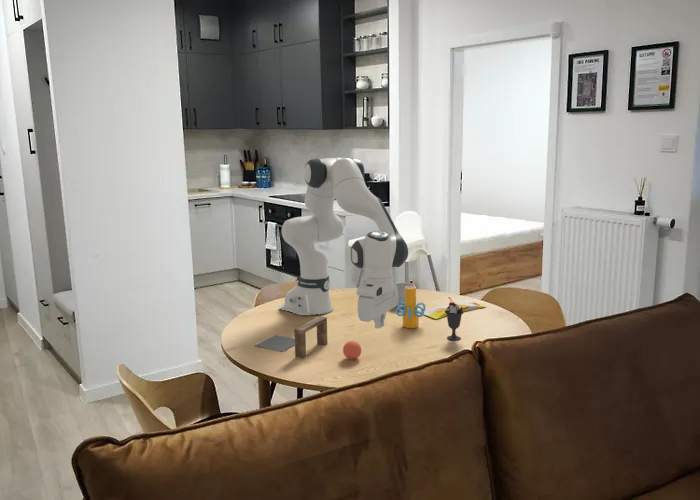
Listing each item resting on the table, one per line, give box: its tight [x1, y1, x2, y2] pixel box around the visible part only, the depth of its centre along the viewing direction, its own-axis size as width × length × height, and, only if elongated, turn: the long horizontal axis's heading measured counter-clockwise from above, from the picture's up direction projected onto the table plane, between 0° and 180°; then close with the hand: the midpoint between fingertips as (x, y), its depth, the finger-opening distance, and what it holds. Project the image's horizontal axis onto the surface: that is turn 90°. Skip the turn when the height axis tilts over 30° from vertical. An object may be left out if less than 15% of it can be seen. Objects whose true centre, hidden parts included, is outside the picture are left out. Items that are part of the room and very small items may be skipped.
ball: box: [342, 340, 362, 360], centre depth 202 cm, size 6×6×6 cm
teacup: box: [395, 281, 416, 306], centre depth 262 cm, size 14×11×8 cm
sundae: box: [445, 297, 465, 342], centre depth 218 cm, size 7×7×15 cm
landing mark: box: [254, 334, 295, 353], centre depth 218 cm, size 12×12×1 cm
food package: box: [420, 300, 487, 320], centre depth 251 cm, size 27×2×10 cm
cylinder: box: [395, 285, 426, 329], centre depth 232 cm, size 12×10×15 cm
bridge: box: [293, 315, 329, 359], centre depth 210 cm, size 3×15×10 cm, turn 149°
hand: (379, 327), depth 195 cm, fingers closed
